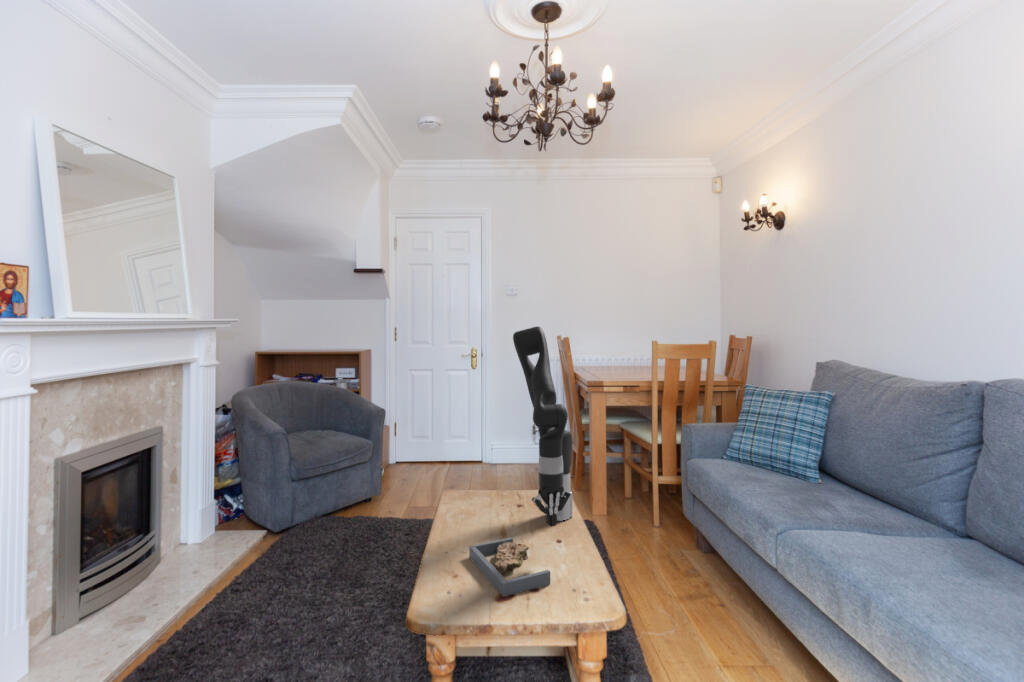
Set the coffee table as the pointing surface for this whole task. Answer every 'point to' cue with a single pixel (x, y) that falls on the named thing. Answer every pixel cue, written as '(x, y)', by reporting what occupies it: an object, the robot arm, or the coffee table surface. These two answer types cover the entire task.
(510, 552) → the rock
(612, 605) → the coffee table surface
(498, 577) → the bracket
